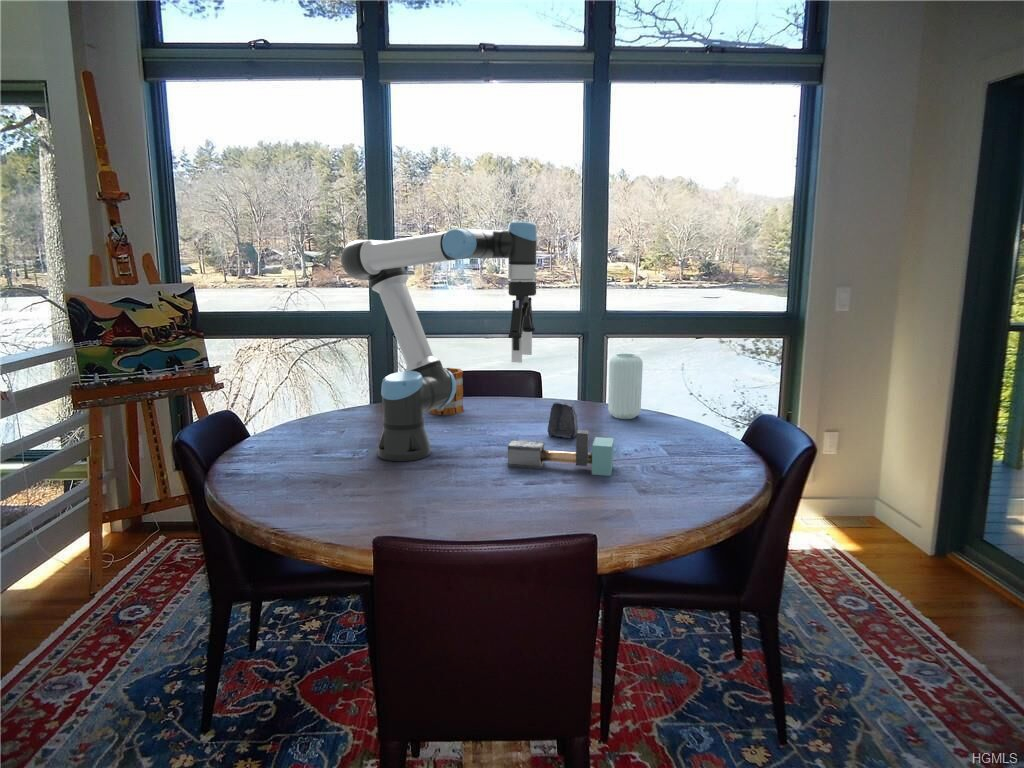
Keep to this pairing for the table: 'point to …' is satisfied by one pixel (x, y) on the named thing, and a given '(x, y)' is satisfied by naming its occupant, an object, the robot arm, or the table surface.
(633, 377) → the vase
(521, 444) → the sleeve
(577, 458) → the hammer
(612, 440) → the socket
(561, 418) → the stone
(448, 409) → the mug
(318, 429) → the table surface
